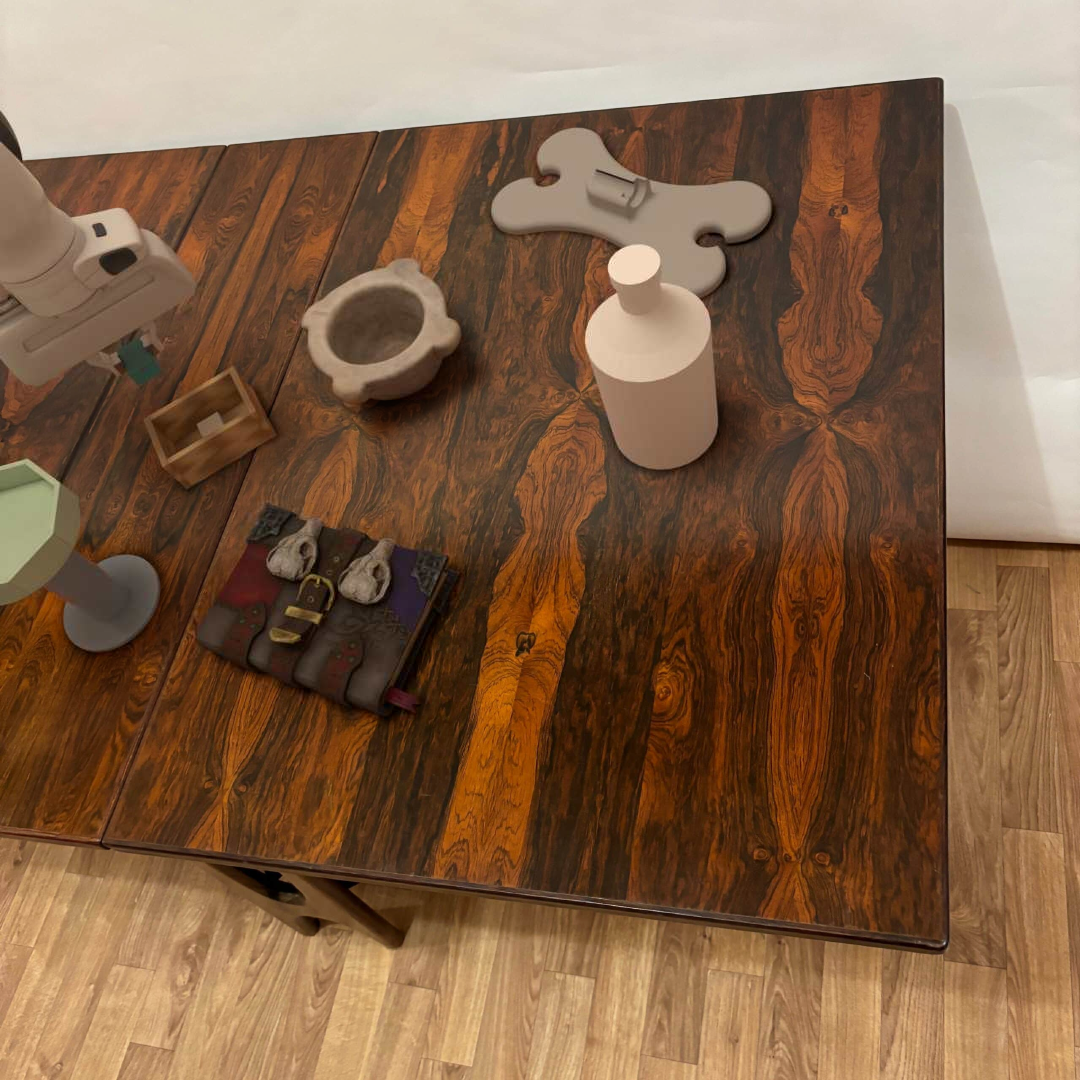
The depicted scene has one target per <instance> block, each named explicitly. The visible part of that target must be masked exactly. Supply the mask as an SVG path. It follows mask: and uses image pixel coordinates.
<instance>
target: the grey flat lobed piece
mask: <svg viewBox="0 0 1080 1080" xmlns="http://www.w3.org/2000/svg"><path fill="white" fill-rule="evenodd" d="M536 164H537V168H538V170H539V172H540V174H541V175H542V176H543V177H545V176H549V175H557V176H559V179H558V180H557V181H556V182H554V183H553V184H551V185H548V186H540V185H537V181H536V178H535V177H525V178H520V179H516V180H514V181H511V182H510V183H508V184H507V185H505V186H503V188H502V189H500V190H499V191H498V193H497V194H496V195H495V197H494V198H493V200H492V203H491V206H490V213H491V218H492V220H493V223H494V225H495V226H496V227H497V228H498V229H499V230H500V231H501V232H503V233H505V234H508V235H512V236H524V235H530V234H536V233H543V232H572V233H579V234H585V235H588V236H593V237H596V238H599V239H602V240H604V241H606V242H609V243H611V244H613V245H615V246H617V247H618V248H620V249H622V248H624V247H627V246H630V245H637V244H638V245H646V246H649V247H651V248H653V249H655V250H656V252H657V253H658V254H659V257H660V261H661V268H662V275H661V278H660V283H668V284H672V285H677V286H680V287H682V288H684V289H687V290H689V291H690V292H692V293H693V294H695V295H696V296H697V297H698V298H699V299H700V300H701V299H702V298H705V297H707V296H708V295H710V294H711V293H713V292H714V291H716V289H717V288H718V287H720V285H721V283H722V282H723V280H724V278H725V275H726V272H727V263H726V256H725V253H724V252H723V251H722V249H721V247H720V246H718V245H715V246H710V247H704V246H700V245H698V244H697V240H698V239H699V238H700V237H702V236H703V235H705V234H712V233H713V234H719V235H721V236H722V237H723V238H724V243H725V244H736V243H741V242H745V241H747V240H750V239H752V238H754V237H755V236H757V235H759V234H760V233H761V232H762V231H764V230H765V228H766V227H767V225H768V223H769V222H770V220H771V217H772V211H773V210H772V207H773V206H772V200H771V198H770V195H769V194H768V193H767V191H766V190H765V189H764V188H763V187H761V186H760V185H758V184H756V183H754V182H751V181H746V180H731V181H725V182H720V183H714V184H713V183H711V184H701V185H700V184H699V185H685V184H684V185H683V184H672V183H665V182H660V181H655V180H652V179H649V178H648V177H645V176H642V175H639V174H636V173H634V172H633V171H630V170H628V169H627V168H625V167H624V166H623V165H621V163H619V162H618V161H617V160H615V158H614V157H613V156H612V155H611V154H610V152H609V151H608V149H607V147H606V146H605V144H604V141H603V139H602V137H601V136H600V135H599V134H598V133H597V132H595V131H593V130H591V129H589V128H585V127H569V128H566V129H563V130H559V131H557V132H555V133H554V134H552V135H551V136H549V137H548V138H547V139H546V140H545V141H543V143H542V144H541V146H540V147H539V150H538V151H537V154H536Z"/></svg>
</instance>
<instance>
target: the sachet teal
mask: <svg viewBox="0 0 1080 1080" xmlns="http://www.w3.org/2000/svg"><path fill="white" fill-rule="evenodd" d="M142 336H143V335H140V336H138V337H137V338H135V339H133V340H131V341H129V342H128V343H127V344H125V345H123V346H121V347H120V348H118V349H117V351H118V353H119V354H120V356H121V358H122V360H123V363H124V365H125V368H126V370H127V372H126V373H127V375H128V377H130V378H131V379H132V380H133V382H135V384H137V385H138V387H141V386H143V385H144V384H146V383H147V382H149V381H152V379H154V378H156V377H158V376H159V375H161V374H162V373H164V369H163V368H162V365H161V362H160V361H159V358H158V356H157V354H156V355H154V356H152V355H151V354H150V352H148V351H147V350H146V349H145V348H144V346H143V343H142V341H141V339H140V337H142Z"/></svg>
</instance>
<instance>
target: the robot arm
mask: <svg viewBox="0 0 1080 1080" xmlns="http://www.w3.org/2000/svg"><path fill="white" fill-rule="evenodd" d="M23 159H24V158H23V153H22V150H21V147H20V143H19V140H18V137H17V135H16V133H15V131H14V128H13V127H12V124H11V123H10V121H9V120H8V119H7V117H6V115H4V113H3V112H2V110H0V285H1V286H2V287H3V288H4V289H5V290H6V291H8V292H9V293H10V294H7V295H6V296H5V297H3V298H1V299H0V360H1V361H2V362H3V364H4V365H5V366H6V367H7V369H8V370H9V371H10V372H11V373H12V374H13V375H14V376H15V377H16V378H17V379H18V380H19V381H20V382H21V383H22V384H24V385H26V386H30V387H41V386H43V385H44V384H46V383H48V382H50V381H51V380H53V379H55V378H56V377H58V376H60V375H62V374H64V373H65V372H66V371H69V370H70V369H72V368H73V367H75V366H77V365H79V364H80V363H82V362H84V361H85V362H86V363H87V364H88V365H90V366H94V367H98V368H101V369H106V370H110V371H111V373H112V374H113V375H114V376H116V377H117V378H120V377H121V376H123V375H124V374H126V373H127V370H126V368H125V365H124V363H123V360H122V358H121V355H120V353H119V351H118V350H117V351H115V352H113V353H111V354H108V353H105V352H103V351H102V350H104V349H106V348H107V347H109V346H110V345H112V344H114V343H116V342H117V341H119V340H120V339H122V338H124V337H126V336H127V335H129V334H131V333H132V332H134V331H136V330H138V329H140V330H141V331H142V332H143V333H144V332H145V334H143V335H141V336H142V337H140V336H139V337H140V339H141V341H142V343H143V346H144V348H145V349H146V350H147V351H148V352H150V354H151V355H152V356H154V355H156V356H157V355H158V354H159V353H162V352H163V351H165V347H164V345H163V342H162V341H161V340H160V338H159V337H158V336H157V326H156V323H155V321H154V319H156V318H158V317H160V316H161V315H163V314H165V313H166V312H168V311H170V310H171V309H173V308H175V307H177V306H178V305H180V304H181V303H184V302H185V301H187V300H188V299H190V298H192V297H194V295H196V288H197V282H196V281H195V278H194V275H193V274H192V272H191V271H190V269H189V267H188V266H187V265H186V263H185V262H184V261H183V260H182V258H180V256H179V255H178V254H177V253H176V252H175V251H174V249H172V248H171V247H170V246H169V245H168V244H167V243H166V242H165V241H164V240H163V239H161V238H160V237H159V236H158V235H157V234H155V232H152V231H150V230H148V229H145V228H142V227H141V228H139V226H138V224H137V223H136V221H135V220H134V218H133V217H132V215H131V214H130V213H129V212H128V211H127V210H126V209H125V208H122V207H114V208H109V209H105V210H102V211H97V212H92V213H89V214H88V213H87V214H83V215H78V216H72V217H70V216H69V215H68V214H67V213H66V212H64V211H63V210H62V209H60V208H58V207H56V206H55V205H54V204H53V203H52V202H51V201H50V200H49V198H48V197H47V195H46V192H45V190H44V188H43V186H42V185H41V184H40V182H39V181H38V180H37V178H36V177H35V176H34V175H33V173H32V172H30V171H29V169H28V168H27V167H26V166H25V164H23Z"/></svg>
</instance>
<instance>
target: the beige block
mask: <svg viewBox="0 0 1080 1080" xmlns="http://www.w3.org/2000/svg"><path fill="white" fill-rule="evenodd" d="M225 424H227V422H226V420H225V419H224V418H223V417H222V416H221V415H220V414H219V413H218V412H216V413H214V414H213V415H211V416H209V417H208V418H206V419H204V420H203V421H201V422H199V423H198V424H197V426H198V429H199V431H200V433H201V435H202V438H203V437H205V436H207V435H208V434H210V433H212V432H213V431H215V430H217V429H218V428H220V427H222V426H223V425H225Z"/></svg>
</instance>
